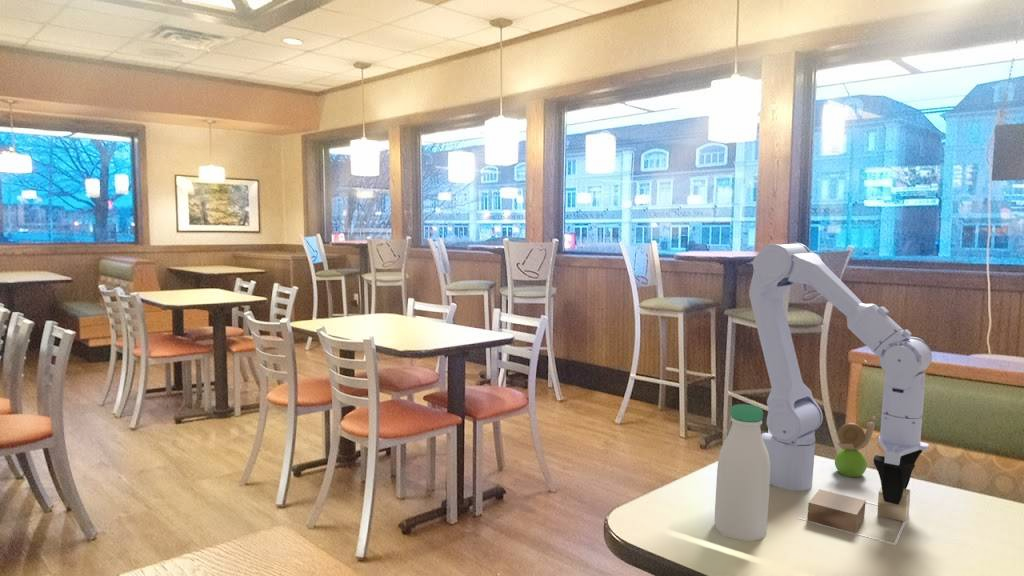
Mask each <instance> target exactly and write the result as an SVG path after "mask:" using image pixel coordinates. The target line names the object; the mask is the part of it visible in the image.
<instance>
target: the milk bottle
mask: <svg viewBox="0 0 1024 576" xmlns="http://www.w3.org/2000/svg"><path fill="white" fill-rule="evenodd" d="M763 417H764V411H763V408H762V407H760V406H757V405H752V404H747V403H746V404H745V403H738V404H734V405H732V406H731V408H730V421H731V426H730V430H729V432H728V434H727V436H726V438H725V440H724V442H723V444H722V446H721V448H720V451H719V455H718V459H717V460H718V461H717V469H716V484H715V485H716V487H715V488H716V489H715V502H714V505H715V506H714V507H715V508H714V528H715V530H716V531H717V532H718V533H719V534H720V535H723V536H724V537H728V538H730V539H734V540H738V541H744V542H745V541H747V542H753V541H759V540H762V539H764V538H765V537H766V536H767V529H768V516H769V499H770V485H771V484H770V459H769V454H768V451H767V448H766V446H765V443H764V441H763V438H762V431H761V425H763Z"/></svg>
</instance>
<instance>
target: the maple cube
mask: <svg viewBox="0 0 1024 576" xmlns="http://www.w3.org/2000/svg"><path fill="white" fill-rule="evenodd" d="M877 497H878V498H877V504H878V506H877V514H876V515H877V516H878V517H882V518H886V519H892V520H896V521H900V522H905V521H906V519H907V520H908V518H909V516H908V514H909V515H910V513H909V512H910V501H911V489H908V488H906V489H904V491H903V494H902V498H901V500H900V503H899V505H897V504H893V503H889V502H885V501H884V498H883V493H882V486H881V487H880V488H879V490H878V496H877ZM907 517H908V518H907ZM906 522H907V521H906Z"/></svg>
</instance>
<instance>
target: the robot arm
mask: <svg viewBox="0 0 1024 576" xmlns="http://www.w3.org/2000/svg"><path fill="white" fill-rule="evenodd" d="M751 263H752V268H753V273H752V277H751V281H750V285H749V291H748V295H749V300H750V305H751V307H752V308H751V309H752V312H753V317H754V320H755V325H756V329H757V334H758V336H759V337H758V338H759V342H760V346H761V350H762V353H763V359H764V362H765V366H766V371H767V374H768V377H769V382H770V387H771V389H770V392H769V395H768V396H767V400H766V405H767V406H766V407H767V417H766V426H767V428H768V432H761V434H762V438H763V441H764V443H765V446H766V448H767V451H768V454H769V459H770V484H769V485H772V486H775V487H776V488H777V487H778V488H779V489H783V490H788V491H795V492H798V491H799V492H802V491H803V492H805V491H810V490H811V489H812V488H813V477H814V464H815V462H814V461H815V453H816V452H815V449H816V435H815V433H816V431H817V430H818V429H819V428H820V426H821V425H822V424H823V420H824V417H823V415H824V414H823V412H822V409H821V407H820V406H819V404H818V403H817V402H816V400H815V399H814V396H813V392H812V390H811V388H809V387H808V386H807V385H806V384H805V383H804V382H803V381H804V380H803V378H802V374H801V370H800V369H801V368H800V366H799V362H798V357H797V354H796V350H795V345H794V342H793V337H792V333H791V329H790V325H789V322H788V318H787V313H786V309H785V306H784V305H785V304H784V301H783V297H785V294H786V293H787V292H788V290H789V289H790V288H791V286H793V284H794V283H796V284H803V285H808V286H810V287H812V289H814V290H815V291H816V292H818V293H819V294H820V295H821V296H822V297H823V298H824V299H825V300H827V301H828V302H829V303H830V304H832V305H833V306H834V308H836V309H838V310H839V311H840V312H841V313H842V314H843V315H845V317H846V324H847V325H846V326H847V329H848V330H850V332H852V334H853V335H855V336H856V337H857V338H858V339H859V340H860V341H861V342H862V343H863V345H865V346H867V348H869V350H870V351H871V352H873V354H874V355H875V356H877V357H879V358H878V360H879V365H880V367H881V369H882V370H883V372H884V383H883V391H882V392H883V393H882V402H881V403H882V404H881V418H880V428H879V430H880V432H879V433H880V434H879V436H878V440H877V441H878V444H879V445H880V446H881V448H882V450H884V455H883V456H882V455H877V454H875V455H874V457H873V459H872V461H873V465H874V466H875V468H876V471H877V472H878V476H879V481H880V485H881V487H882V493H883V498H884V501H885V502H889V503H893V504H897V505H899V503H900V500H901V498H902V494H903V491H904V489H908V486H909V484H910V480H911V477H912V476H911V475H912V472H913V470H914V469H915V467H916V461H917V460H918V458H919V456H920V455H921V454H922V452H923V451H928V450H929V447H930V445H929V443H928V442H922V441H921V439H922V426H923V415H924V403H925V402H924V401H925V392H926V391H925V389H926V388H925V382H926V371H925V370H927V368H929V366H930V364H931V363H932V361H933V360H932V359H933V354H932V351H931V348H930V347H929V346H928V345H927V344H926V342H925V340H923V339H922V338H919V337H915V336H912V332H911V331H910V330H909V329H903V328H902V327H901V326H900V325H899V324H898V323H897V322H896V321H894V320H893V319H892V318H891V317H890V316H889V315H888V313H890V311H889V310H888V309H887V308H886V307H885V306H878V305H877V304H875V303H863V301H861V300H860V299H859V298H858V297H857V295H856V294H855V293H854V292H853V291H852V290H851V289H850V288H849V287H848V286H847V285H846V284H845V283H844V282H843V281H842V280H841V279H840V278H839V277H838V276H837V275H836V274H835V273H834V272H833V271H832V270H831V268H829V267H828V266H827V265H826V264H825V263H824V261H823V260H822V259H821V257H820V256H819V255H817V254H816V253H815V252H812V251H811V249H809V247H808V246H807V245H805V244H803V243H801V242H792V243H786V244H785V243H783V244H777V243H770V244H767V245H765V246H764V247H762V248H761V249H760V250H759V252H758V253H757V255H756V256H755V258H754V259H753V260H752V261H751ZM769 432H770V433H769Z"/></svg>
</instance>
